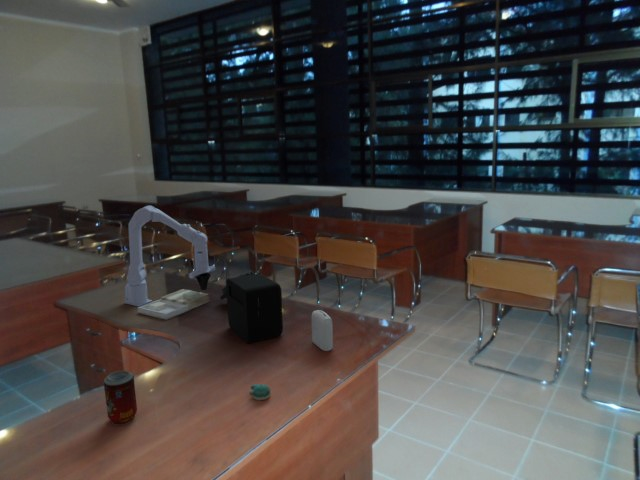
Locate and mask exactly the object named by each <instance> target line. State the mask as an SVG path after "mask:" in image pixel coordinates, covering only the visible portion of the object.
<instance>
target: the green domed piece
mask: <svg viewBox="0 0 640 480" xmlns="http://www.w3.org/2000/svg"><path fill="white" fill-rule="evenodd" d="M250 389H251V391H250V392H249V395H250V396H252V397H253V399H255V400H257V401H264V400H267V399H268V398H269V397H270V396H271V389H270V387H269V386H268V385H266V384H263V383H261V384H260V383H256V384H252V385H251V386H250Z"/></svg>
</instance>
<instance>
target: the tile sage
mask: <svg viewBox="0 0 640 480" xmlns="http://www.w3.org/2000/svg"><path fill="white" fill-rule="evenodd" d="M198 297H200V292H199V291H196V292H195V291H194V290H190V291H189V292H187V293H184V294H183V298H184V299H189V300H193V299H195V298H198Z"/></svg>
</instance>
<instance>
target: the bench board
mask: <svg viewBox="0 0 640 480" xmlns="http://www.w3.org/2000/svg"><path fill="white" fill-rule="evenodd" d="M189 291H191V289H186V288H185V289H184V288H182V289H179V290H177V291H174V292H172V293H167V294H166V295H164V296H161V297H160V299H162V300H167V301H171V302H176V303H180V304H185V305H188V309H189V311H191V310H192V309H195V308H198V307H200V306H202V305H204V304H206V303H209V302H210V293H204V292H200V297H198V298H195V299H193V300H189V299H184V298H183V294H184V293H187V292H189ZM195 292H197V291H195Z"/></svg>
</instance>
